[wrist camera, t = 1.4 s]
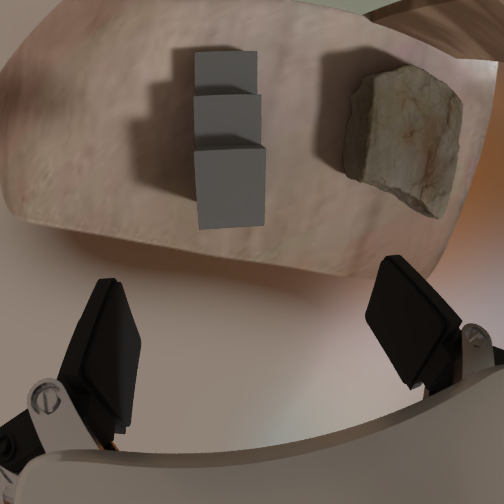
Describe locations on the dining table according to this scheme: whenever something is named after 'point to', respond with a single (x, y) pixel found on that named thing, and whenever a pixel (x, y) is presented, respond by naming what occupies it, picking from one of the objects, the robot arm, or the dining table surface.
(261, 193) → the grey stepped block
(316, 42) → the dining table surface
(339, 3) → the door
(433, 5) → the wood grain plank
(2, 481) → the robot arm
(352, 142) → the marble piece
